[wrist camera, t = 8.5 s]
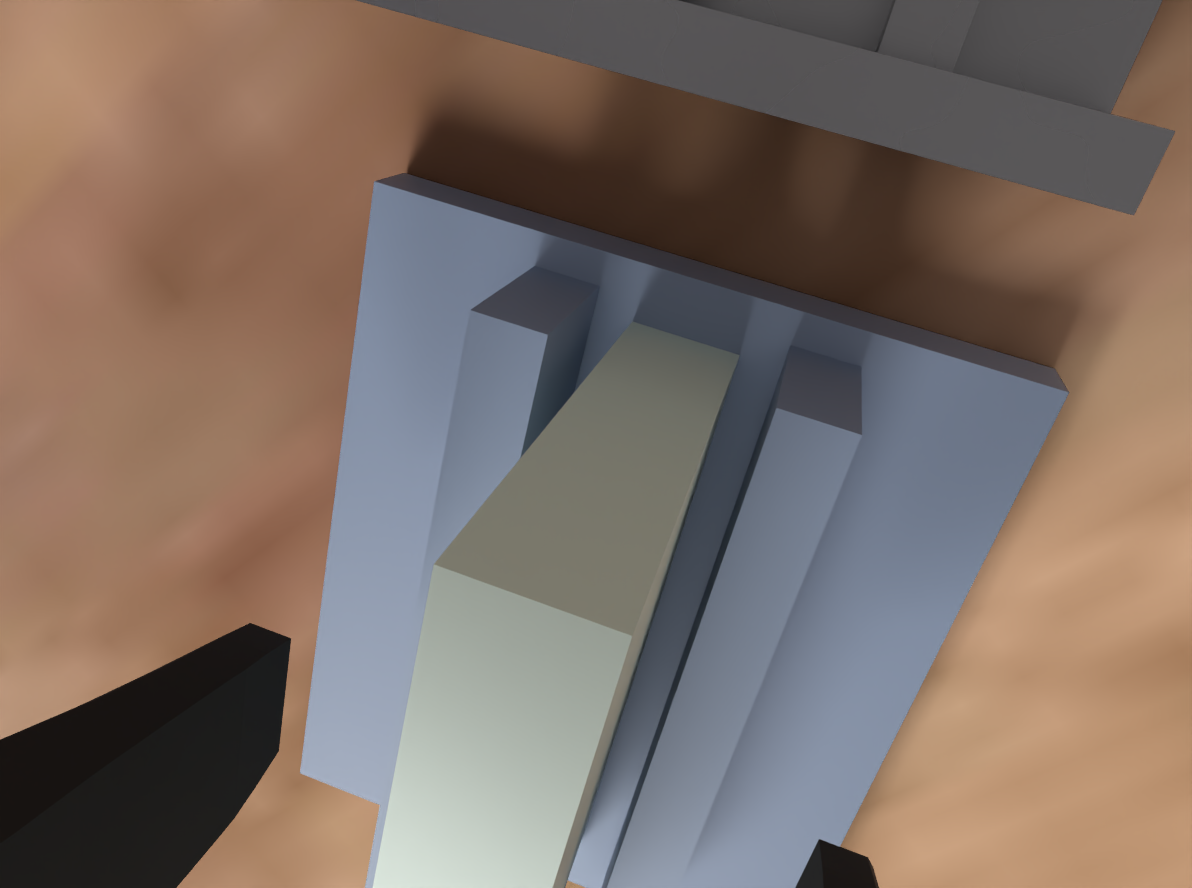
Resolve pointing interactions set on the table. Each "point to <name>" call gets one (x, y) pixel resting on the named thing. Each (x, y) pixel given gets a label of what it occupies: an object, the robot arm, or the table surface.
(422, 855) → the pale green slab
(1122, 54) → the slotted rack
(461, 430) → the sheet stand
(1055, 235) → the table surface
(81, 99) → the table surface
